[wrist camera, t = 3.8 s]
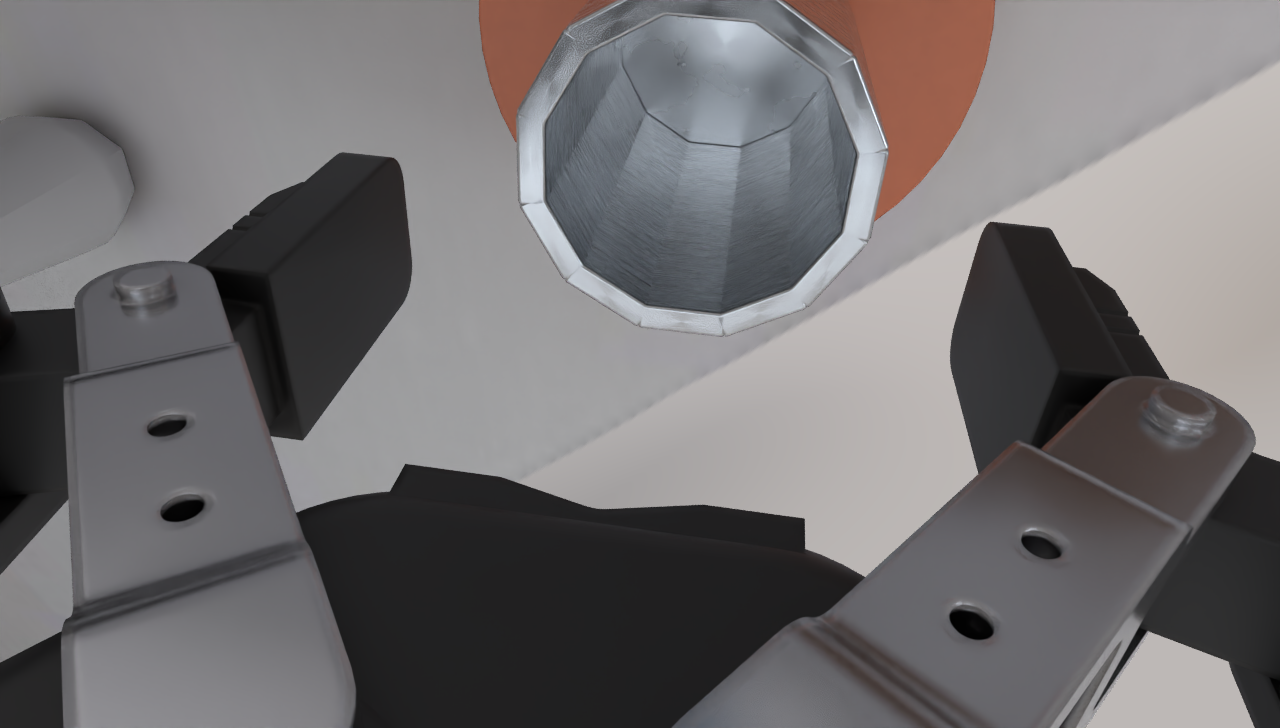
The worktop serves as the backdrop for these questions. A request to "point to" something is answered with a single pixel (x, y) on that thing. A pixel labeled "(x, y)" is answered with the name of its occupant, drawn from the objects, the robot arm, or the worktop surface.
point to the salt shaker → (57, 192)
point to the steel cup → (703, 157)
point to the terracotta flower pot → (893, 46)
